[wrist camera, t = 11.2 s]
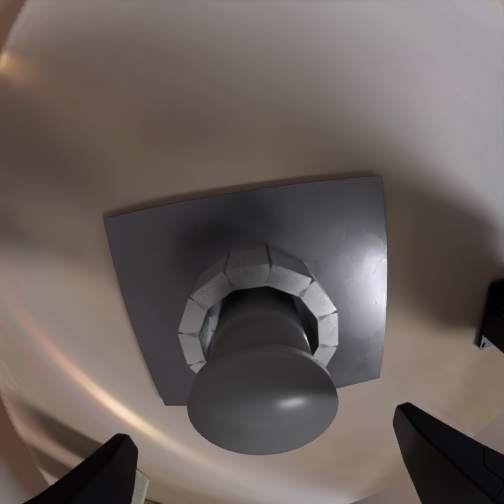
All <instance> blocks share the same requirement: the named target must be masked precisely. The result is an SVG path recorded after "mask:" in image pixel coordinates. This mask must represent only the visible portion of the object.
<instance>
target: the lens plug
mask: <svg viewBox="0 0 504 504" xmlns="http://www.w3.org/2000/svg"><path fill="white" fill-rule="evenodd" d="M187 410H188V416H189V418H190V421H191V423H192V425H193V426H194V428H195V429H196V430H197V431H198V432H199V433H200V434H201V435H202V436H203V437H204V438H205V439H207V440H208V441H209V442H211V443H213V444H215V445H217V446H219V447H221V448H223V449H226V450H229V451H232V452H236V453H241V454H248V455H271V454H278V453H283V452H287V451H291V450H294V449H297V448H299V447H302V446H304V445H306V444H308V443H310V442H311V441H313V440H314V439H316V438H317V437H319V436H320V435H321V434H322V433H323V432H324V431H325V430H326V429H327V428H328V427H329V426H330V424H331V423H332V421H333V420H334V418H335V416H336V413H337V410H338V395H337V392H336V389H335V386H334V383H333V381H332V378H331V376H330V374H329V372H328V370H327V369H326V367H325V366H324V365H323V364H322V363H321V362H320V361H319V360H318V359H317V358H315V357H314V356H312V353H311V350H310V347H309V344H308V341H307V338H306V335H305V332H304V329H303V326H302V323H301V320H300V317H299V314H298V311H297V308H296V305H295V302H294V299H293V297H292V295H291V294H290V293H287V292H285V291H282V290H279V289H276V288H273V287H271V286H261V287H254V288H247V289H240V290H233V291H232V292H231V293H229V294H228V295H227V296H225V297H224V299H223V301H222V304H221V308H220V312H219V317H218V321H217V326H216V330H215V334H214V339H213V343H212V348H211V352H210V357H209V361H208V362H207V363H206V364H205V365H204V366H203V367H202V368H201V369H200V370H199V371H198V373H197V374H196V376H195V378H194V380H193V383H192V387H191V391H190V395H189V398H188V404H187Z"/></svg>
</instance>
